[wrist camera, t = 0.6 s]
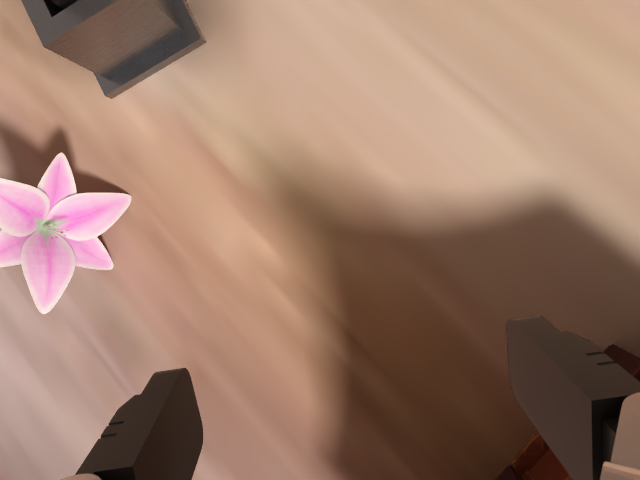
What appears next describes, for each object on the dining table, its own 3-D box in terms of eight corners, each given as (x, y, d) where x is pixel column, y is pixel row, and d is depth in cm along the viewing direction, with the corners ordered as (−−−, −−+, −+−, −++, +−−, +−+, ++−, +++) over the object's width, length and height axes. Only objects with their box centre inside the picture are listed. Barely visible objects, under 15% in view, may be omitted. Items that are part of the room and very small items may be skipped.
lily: (73, 315, 46) (59, 337, 37) (-46, 241, 42) (-94, 244, 33) (154, 216, 48) (159, 213, 39) (47, 137, 45) (26, 114, 36)
